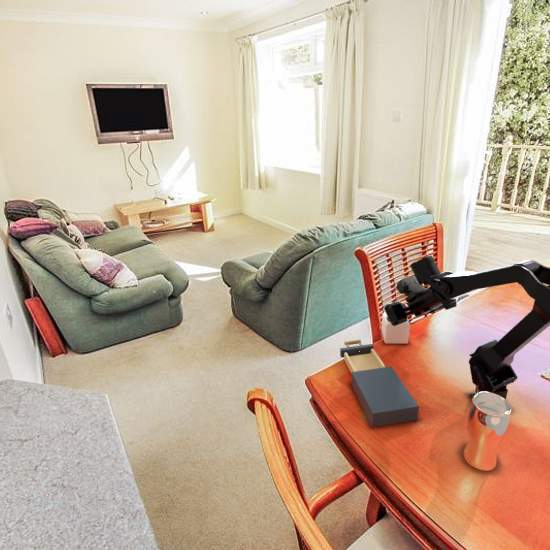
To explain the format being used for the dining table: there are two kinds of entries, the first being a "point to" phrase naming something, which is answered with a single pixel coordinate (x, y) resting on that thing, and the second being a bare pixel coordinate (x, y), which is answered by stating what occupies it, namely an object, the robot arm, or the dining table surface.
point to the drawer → (360, 356)
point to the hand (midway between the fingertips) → (399, 315)
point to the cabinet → (384, 396)
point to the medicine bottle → (395, 330)
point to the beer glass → (486, 429)
